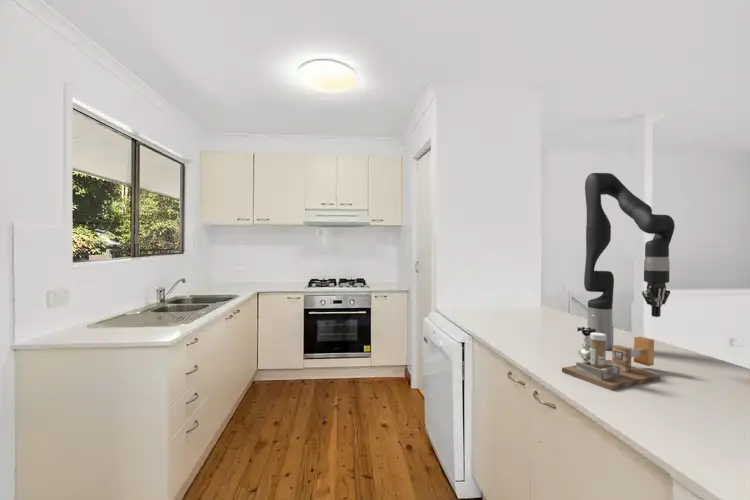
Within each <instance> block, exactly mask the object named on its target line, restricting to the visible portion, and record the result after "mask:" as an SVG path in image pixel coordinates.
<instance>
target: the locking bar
mask: <svg viewBox="0 0 750 500" xmlns="http://www.w3.org/2000/svg"><path fill="white" fill-rule="evenodd" d="M633 339H634V340H633V341H634V342H633V348H631V358H633V362H634V363H636V364H640V365H644V366H647V367H651V366H654V364H655V339H652V338H648V337H644V336H643V337H642V336H635V337H633ZM616 358H620V359H623V353H622V352H619V351H617V352H616Z"/></svg>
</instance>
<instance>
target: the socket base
mask: <svg viewBox="0 0 750 500" xmlns="http://www.w3.org/2000/svg"><path fill="white" fill-rule="evenodd" d="M631 349H632V348H631V347H627V346H625V345H620V344H616V345H613V348H612V349H611V350H612V351H611V352H612V353H611V354H612V359H611V360H610V359H606V364H605V368H603V369H598V368H595V367H592V366H591V360H583V361H578V362H575V364H576V365H572V366H571V365H569V366H565V367H561V373H564V374H567V375H569V376H571V377H574V378H577V379H580V380H582V381H585V382H588V383H590V384H593V385H596V386H598V387H602V388H604V389H607V390H609V391H615V390H619V389H624V388H628V387H633V386H637V385H642V384H646V383H651V382H656V381H659V380H661V374H658V373H654V372H651V371H649V370H644V369H642V368H638V367H634V366H632V357H631ZM617 351H619V352H622V353H623V359H620V358H616V352H617Z"/></svg>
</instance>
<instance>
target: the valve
mask: <svg viewBox="0 0 750 500" xmlns="http://www.w3.org/2000/svg"><path fill="white" fill-rule="evenodd" d="M576 329H577V332H581V334H582V335H583V336H584V337H583V343H581V347H580V348H578V349H577V352H578V353H577V354H578V355H579V356H580V357H581V358H582V359H583V360H584V361H588V360H591V345H589V343H588V342H589V338H588V336H589V335H591V333H596V329H591V328H588V327H584V326H582V327H577V328H576Z"/></svg>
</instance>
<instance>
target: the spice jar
mask: <svg viewBox="0 0 750 500" xmlns="http://www.w3.org/2000/svg"><path fill="white" fill-rule="evenodd" d="M590 338H591V348H590V351H591V366H592V367H595V368H598V369H603V368H605V364H606V360H607V359H606V355H607V354H606V352H607V351H606V350H605V346H606V345H605V344H606V343H605V342H606V334H603V333H591V336H590Z"/></svg>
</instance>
